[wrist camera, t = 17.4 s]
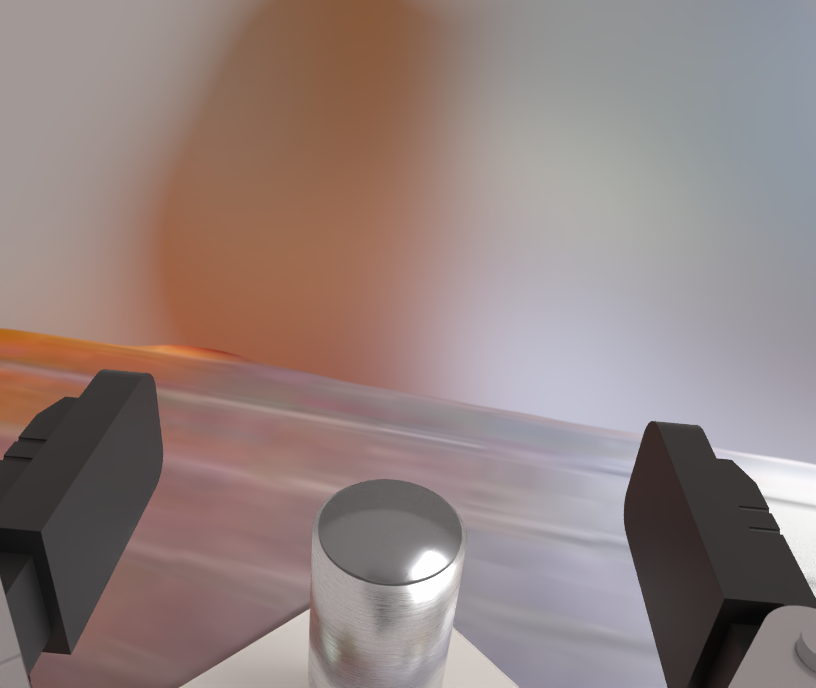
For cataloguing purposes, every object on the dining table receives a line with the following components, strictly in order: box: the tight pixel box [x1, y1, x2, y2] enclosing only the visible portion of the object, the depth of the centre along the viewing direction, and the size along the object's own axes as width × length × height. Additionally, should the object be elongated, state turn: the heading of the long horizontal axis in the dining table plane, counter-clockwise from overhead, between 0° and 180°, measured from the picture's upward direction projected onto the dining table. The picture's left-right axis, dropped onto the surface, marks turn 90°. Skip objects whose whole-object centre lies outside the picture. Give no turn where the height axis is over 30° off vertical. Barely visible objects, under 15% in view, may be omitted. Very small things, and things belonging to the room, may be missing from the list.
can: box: [307, 479, 467, 688], centre depth 30 cm, size 6×6×12 cm
